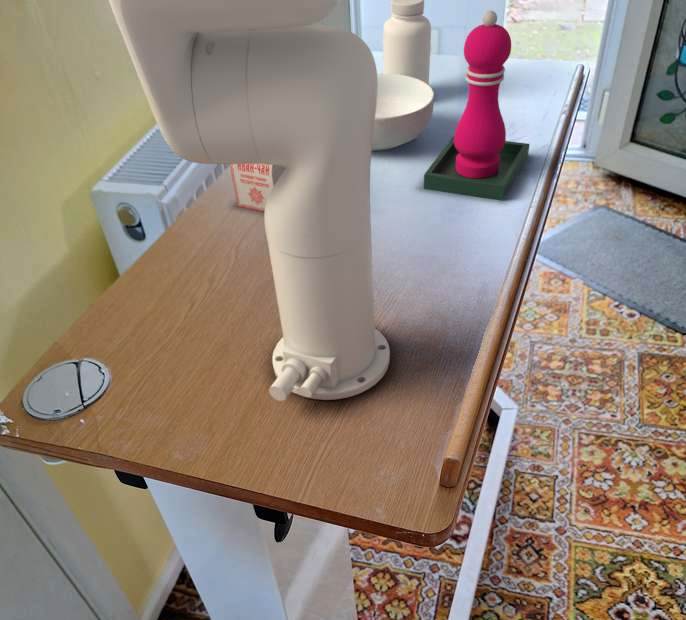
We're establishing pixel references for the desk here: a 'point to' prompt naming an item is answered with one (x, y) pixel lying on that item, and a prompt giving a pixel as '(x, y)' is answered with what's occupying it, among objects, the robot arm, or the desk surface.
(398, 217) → the desk surface
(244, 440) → the desk surface
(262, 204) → the printed tea carton
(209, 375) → the desk surface
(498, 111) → the pepper mill
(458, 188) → the tray
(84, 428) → the desk surface
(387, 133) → the cereal bowl
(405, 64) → the pill bottle
